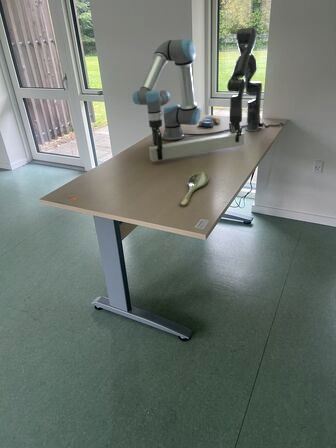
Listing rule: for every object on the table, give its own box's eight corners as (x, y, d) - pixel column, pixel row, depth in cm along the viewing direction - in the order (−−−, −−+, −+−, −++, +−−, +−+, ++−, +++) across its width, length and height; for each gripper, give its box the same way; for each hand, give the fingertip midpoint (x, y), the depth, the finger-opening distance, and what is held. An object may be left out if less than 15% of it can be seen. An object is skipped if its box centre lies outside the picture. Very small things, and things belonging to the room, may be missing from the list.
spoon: (193, 209, 156) (193, 205, 155) (172, 207, 159) (171, 203, 158) (212, 175, 182) (212, 172, 181) (193, 174, 186) (193, 170, 184)
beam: (152, 161, 202) (150, 149, 198) (150, 158, 207) (148, 146, 203) (243, 145, 215) (244, 133, 211) (240, 143, 220) (240, 131, 216)
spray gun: (223, 120, 277) (206, 120, 284) (223, 115, 275) (206, 115, 281) (214, 128, 262) (197, 127, 268) (214, 122, 260) (196, 122, 266)
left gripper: (165, 122, 186) (169, 161, 199) (157, 115, 201) (160, 152, 214) (152, 124, 185) (157, 163, 197) (145, 117, 200) (149, 154, 212)
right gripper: (246, 115, 201) (245, 143, 210) (236, 110, 213) (235, 136, 222) (235, 117, 199) (234, 145, 208) (225, 112, 211) (225, 138, 220)
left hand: (159, 157), depth 205 cm, fingers closed on beam, 5 cm apart
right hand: (235, 140), depth 215 cm, fingers closed on beam, 5 cm apart
